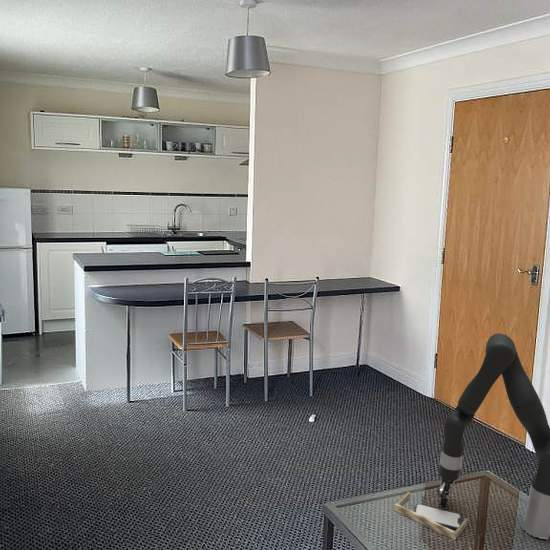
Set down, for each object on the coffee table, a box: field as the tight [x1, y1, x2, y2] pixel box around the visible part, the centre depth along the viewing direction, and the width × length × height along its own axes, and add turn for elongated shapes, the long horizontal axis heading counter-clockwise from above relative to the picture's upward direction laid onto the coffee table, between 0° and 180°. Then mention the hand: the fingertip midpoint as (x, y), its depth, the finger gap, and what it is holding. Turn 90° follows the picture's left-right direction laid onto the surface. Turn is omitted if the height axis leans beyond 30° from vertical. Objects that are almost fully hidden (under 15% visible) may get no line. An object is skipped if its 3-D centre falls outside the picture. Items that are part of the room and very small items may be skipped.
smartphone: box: [414, 503, 462, 531], centre depth 214 cm, size 9×2×16 cm
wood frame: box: [393, 491, 469, 541], centre depth 214 cm, size 23×11×2 cm, turn 53°
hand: (443, 505), depth 221 cm, fingers closed
